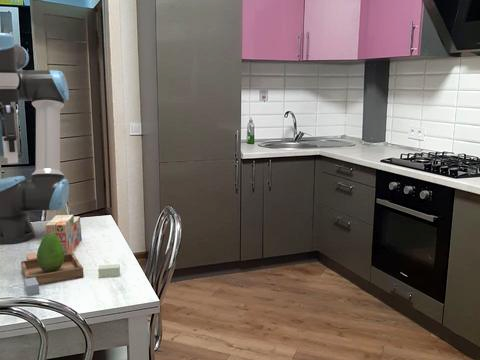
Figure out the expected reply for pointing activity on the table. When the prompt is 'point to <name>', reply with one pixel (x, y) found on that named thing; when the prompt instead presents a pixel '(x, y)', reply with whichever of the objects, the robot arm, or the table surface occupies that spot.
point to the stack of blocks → (66, 231)
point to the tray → (66, 272)
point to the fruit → (50, 253)
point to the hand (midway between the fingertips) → (11, 160)
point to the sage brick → (109, 271)
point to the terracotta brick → (31, 256)
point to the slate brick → (31, 286)
